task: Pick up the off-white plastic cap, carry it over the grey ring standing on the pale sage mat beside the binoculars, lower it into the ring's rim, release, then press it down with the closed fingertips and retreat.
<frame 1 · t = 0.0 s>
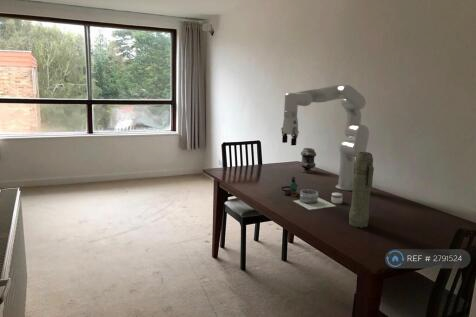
hand: (289, 143, 210), 31 cm above the table, tool pointing down, fingers open, 9 cm apart
mat: (314, 203, 200), on the table
binoculars: (289, 195, 217), on the table
apothecary jar: (307, 171, 278), on the table
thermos: (358, 224, 171), on the table
grey ring: (308, 201, 203), resting on mat
cap: (336, 202, 204), on the table
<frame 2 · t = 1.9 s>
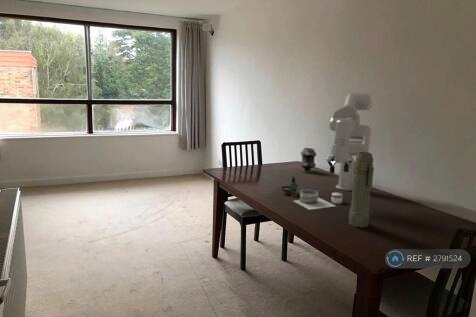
hand: (338, 172, 200), 18 cm above the table, tool pointing down, fingers open, 9 cm apart
nothing on the table moved.
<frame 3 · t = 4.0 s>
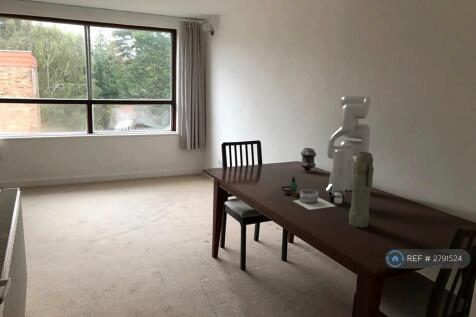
hand: (336, 201, 204), 1 cm above the table, tool pointing down, fingers closed on cap, 6 cm apart
cap: (336, 202, 204), on the table, touching gripper
everything else where it was.
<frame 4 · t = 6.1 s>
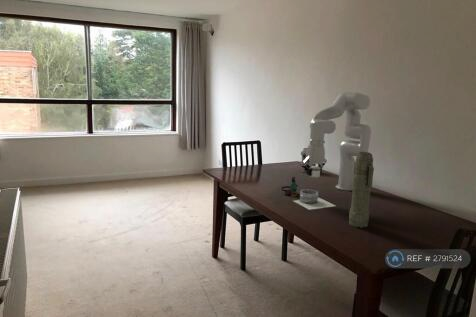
hand: (314, 174, 200), 16 cm above the table, tool pointing down, fingers closed on cap, 6 cm apart
cap: (314, 175, 200), point 15 cm above the table, touching gripper
everything else where it was.
when the fingers open (7 cm above the table, at t = 8.4 s): cap drops 2 cm, resting on grey ring.
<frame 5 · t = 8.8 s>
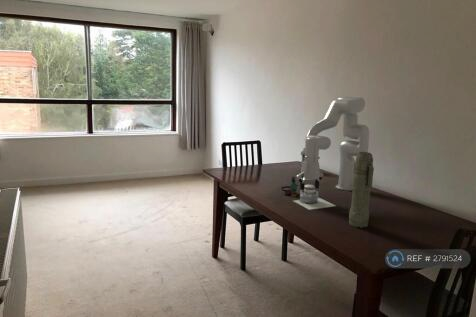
hand: (309, 189, 202), 8 cm above the table, tool pointing down, fingers open, 9 cm apart
cap: (309, 194, 202), point 4 cm above the table, touching grey ring
everything else where it was.
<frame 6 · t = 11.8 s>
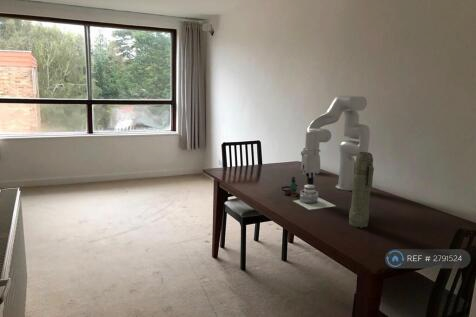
hand: (310, 184, 202), 10 cm above the table, tool pointing down, fingers closed
nothing on the table moved.
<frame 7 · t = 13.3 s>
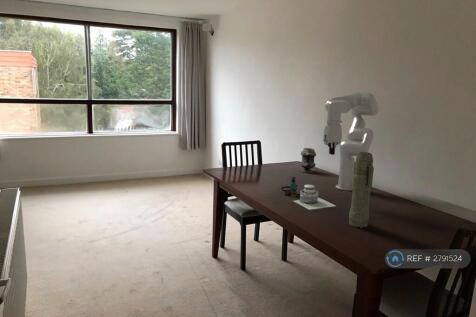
hand: (331, 154, 208), 26 cm above the table, tool pointing down, fingers closed
nothing on the table moved.
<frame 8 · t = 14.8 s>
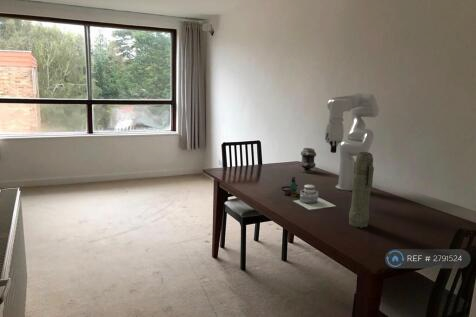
hand: (333, 152, 209), 27 cm above the table, tool pointing down, fingers closed
nothing on the table moved.
at the end: cap 0.1 cm off-centre on the grey ring, point 4.0 cm above the grey ring's base; cap tilted 0°; the gripper is holding nothing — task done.
